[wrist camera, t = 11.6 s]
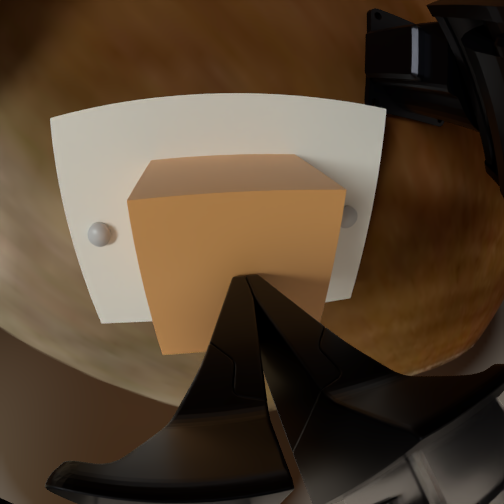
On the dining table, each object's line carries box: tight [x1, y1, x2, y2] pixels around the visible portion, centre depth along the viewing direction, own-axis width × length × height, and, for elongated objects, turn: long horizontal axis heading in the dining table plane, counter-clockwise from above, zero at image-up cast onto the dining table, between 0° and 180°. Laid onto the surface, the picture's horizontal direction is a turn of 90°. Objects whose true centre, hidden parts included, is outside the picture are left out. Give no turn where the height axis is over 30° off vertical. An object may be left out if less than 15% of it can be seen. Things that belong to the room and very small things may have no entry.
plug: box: [127, 154, 346, 355], centre depth 12 cm, size 6×6×7 cm
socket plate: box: [50, 93, 386, 323], centre depth 14 cm, size 16×12×2 cm
